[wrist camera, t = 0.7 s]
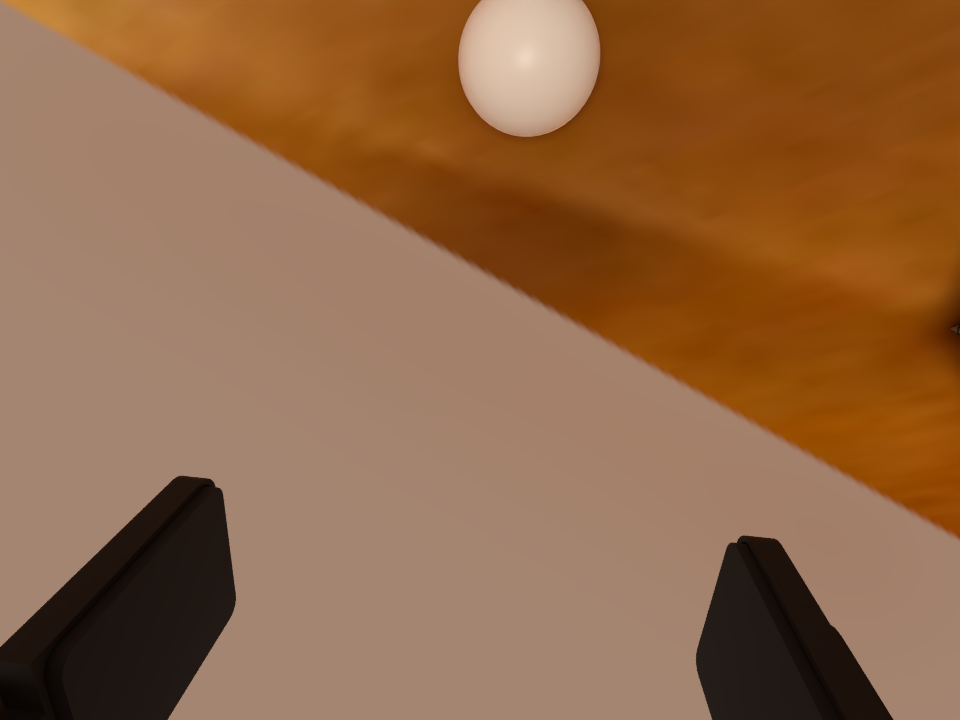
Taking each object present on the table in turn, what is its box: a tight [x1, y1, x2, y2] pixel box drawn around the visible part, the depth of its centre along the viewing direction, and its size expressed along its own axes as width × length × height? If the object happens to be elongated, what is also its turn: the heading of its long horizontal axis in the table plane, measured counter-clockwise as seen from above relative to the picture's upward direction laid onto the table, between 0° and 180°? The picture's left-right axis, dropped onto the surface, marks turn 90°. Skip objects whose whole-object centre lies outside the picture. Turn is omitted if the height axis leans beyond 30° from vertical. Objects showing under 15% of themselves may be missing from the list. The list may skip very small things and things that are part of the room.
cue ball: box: [458, 0, 600, 137], centre depth 22 cm, size 6×6×6 cm
